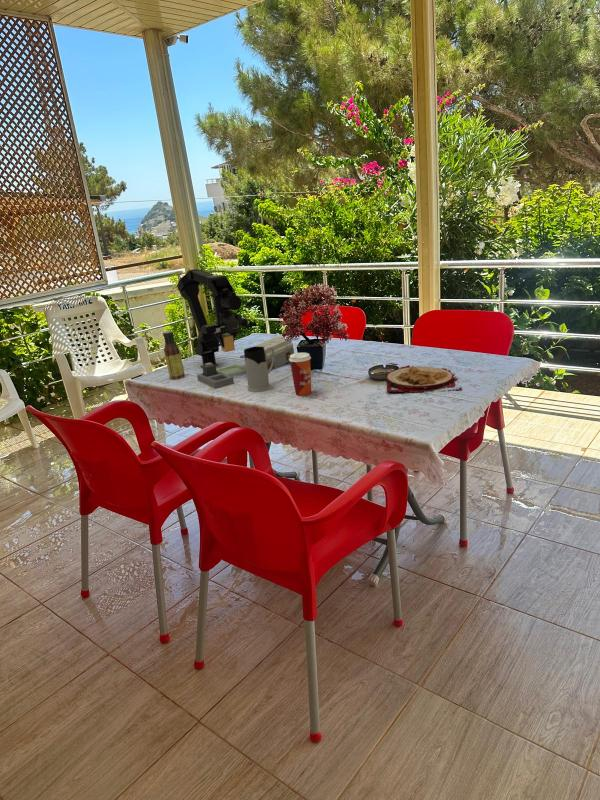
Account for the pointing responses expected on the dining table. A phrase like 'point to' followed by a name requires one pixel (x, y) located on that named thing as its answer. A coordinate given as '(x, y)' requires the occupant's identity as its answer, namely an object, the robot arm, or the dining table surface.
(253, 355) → the grey pitcher
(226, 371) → the tray
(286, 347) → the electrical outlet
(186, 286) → the robot arm
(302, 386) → the paper cup
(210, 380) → the power strip
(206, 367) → the twin plug
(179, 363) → the sauce bottle
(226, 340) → the plug
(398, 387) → the plate with food
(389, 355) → the dining table surface
